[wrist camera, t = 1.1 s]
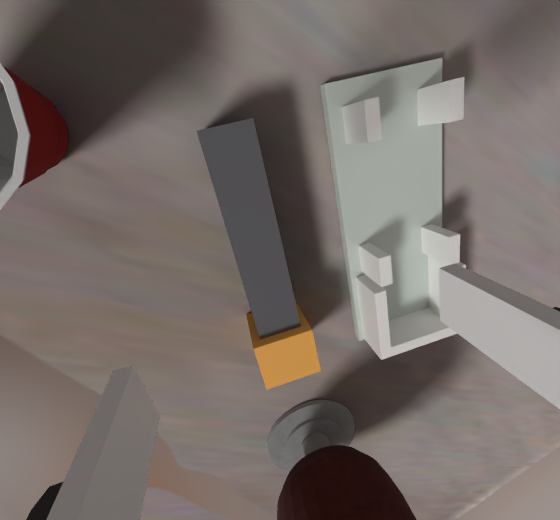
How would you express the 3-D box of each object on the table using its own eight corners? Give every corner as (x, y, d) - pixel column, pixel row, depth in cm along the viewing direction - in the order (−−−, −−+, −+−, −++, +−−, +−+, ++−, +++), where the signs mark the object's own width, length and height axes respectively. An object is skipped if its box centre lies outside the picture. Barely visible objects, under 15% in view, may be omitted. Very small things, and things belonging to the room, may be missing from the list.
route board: (320, 86, 25) (344, 72, 21) (434, 60, 27) (480, 42, 22) (355, 336, 36) (376, 363, 31) (436, 309, 37) (468, 331, 33)
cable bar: (190, 136, 25) (184, 132, 19) (254, 121, 25) (266, 114, 20) (257, 350, 34) (266, 389, 28) (303, 335, 34) (320, 371, 29)
